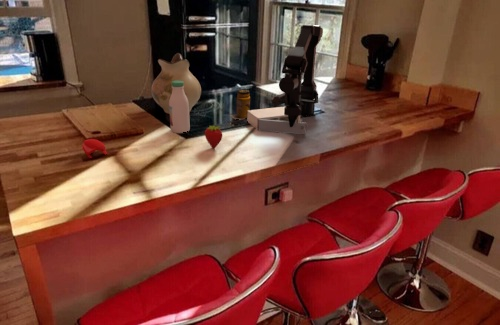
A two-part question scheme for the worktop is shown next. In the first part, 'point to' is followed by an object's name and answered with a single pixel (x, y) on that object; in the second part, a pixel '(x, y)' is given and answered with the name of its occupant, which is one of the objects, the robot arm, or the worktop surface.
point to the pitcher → (175, 73)
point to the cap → (93, 147)
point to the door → (281, 126)
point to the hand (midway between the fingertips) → (291, 126)
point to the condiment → (242, 104)
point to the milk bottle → (179, 109)
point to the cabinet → (267, 115)
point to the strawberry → (213, 135)
